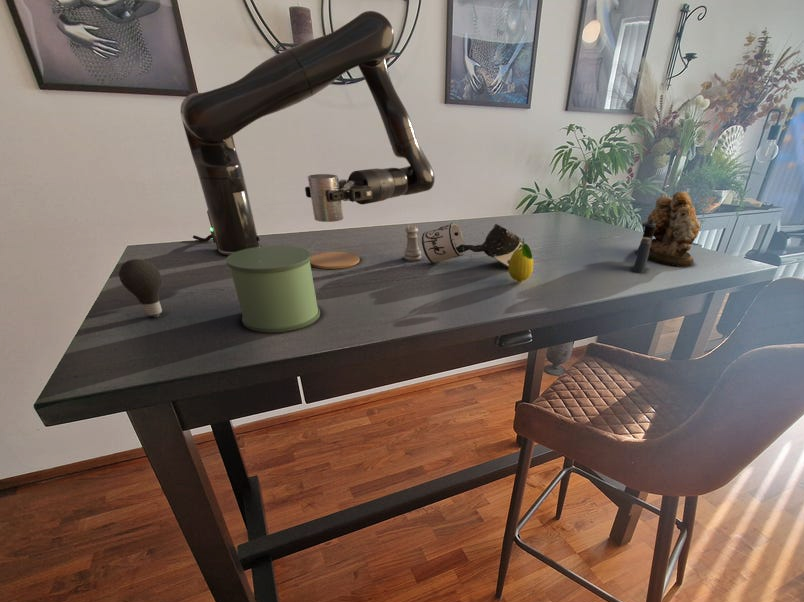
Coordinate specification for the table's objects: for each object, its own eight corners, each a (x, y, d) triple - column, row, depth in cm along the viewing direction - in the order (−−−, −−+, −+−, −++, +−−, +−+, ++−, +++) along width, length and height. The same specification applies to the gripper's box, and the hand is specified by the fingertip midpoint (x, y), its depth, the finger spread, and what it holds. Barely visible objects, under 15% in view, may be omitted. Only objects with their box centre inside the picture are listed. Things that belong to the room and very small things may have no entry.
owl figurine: (624, 250, 127) (638, 186, 118) (654, 246, 132) (669, 184, 122) (672, 269, 114) (692, 198, 104) (703, 264, 118) (725, 196, 109)
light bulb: (147, 309, 80) (125, 254, 74) (180, 309, 80) (161, 254, 75) (129, 322, 75) (104, 264, 70) (164, 322, 76) (142, 265, 70)
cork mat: (297, 262, 105) (296, 260, 105) (334, 251, 114) (333, 248, 114) (334, 272, 101) (334, 269, 100) (369, 259, 110) (369, 257, 109)
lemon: (528, 289, 96) (533, 243, 91) (503, 285, 98) (506, 239, 93) (536, 280, 102) (541, 236, 96) (511, 276, 103) (515, 232, 98)
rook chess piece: (423, 256, 113) (422, 224, 109) (419, 261, 110) (418, 228, 105) (406, 255, 114) (404, 223, 109) (402, 260, 110) (400, 227, 106)
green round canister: (226, 320, 77) (208, 258, 71) (286, 297, 87) (275, 241, 81) (277, 339, 72) (262, 274, 66) (335, 313, 82) (326, 254, 76)
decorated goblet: (421, 270, 105) (419, 226, 99) (424, 257, 113) (423, 217, 108) (526, 273, 106) (531, 230, 100) (522, 260, 114) (525, 220, 109)
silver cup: (308, 219, 101) (301, 176, 96) (329, 214, 106) (323, 173, 101) (329, 223, 98) (322, 179, 94) (349, 218, 103) (344, 175, 98)
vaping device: (645, 267, 113) (658, 219, 107) (643, 273, 109) (655, 223, 103) (635, 266, 114) (647, 218, 108) (632, 271, 110) (644, 222, 104)
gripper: (350, 166, 110) (292, 172, 99) (392, 172, 104) (336, 180, 92) (353, 198, 114) (299, 207, 103) (394, 206, 108) (341, 217, 96)
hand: (317, 194), depth 97 cm, fingers closed on silver cup, 6 cm apart
